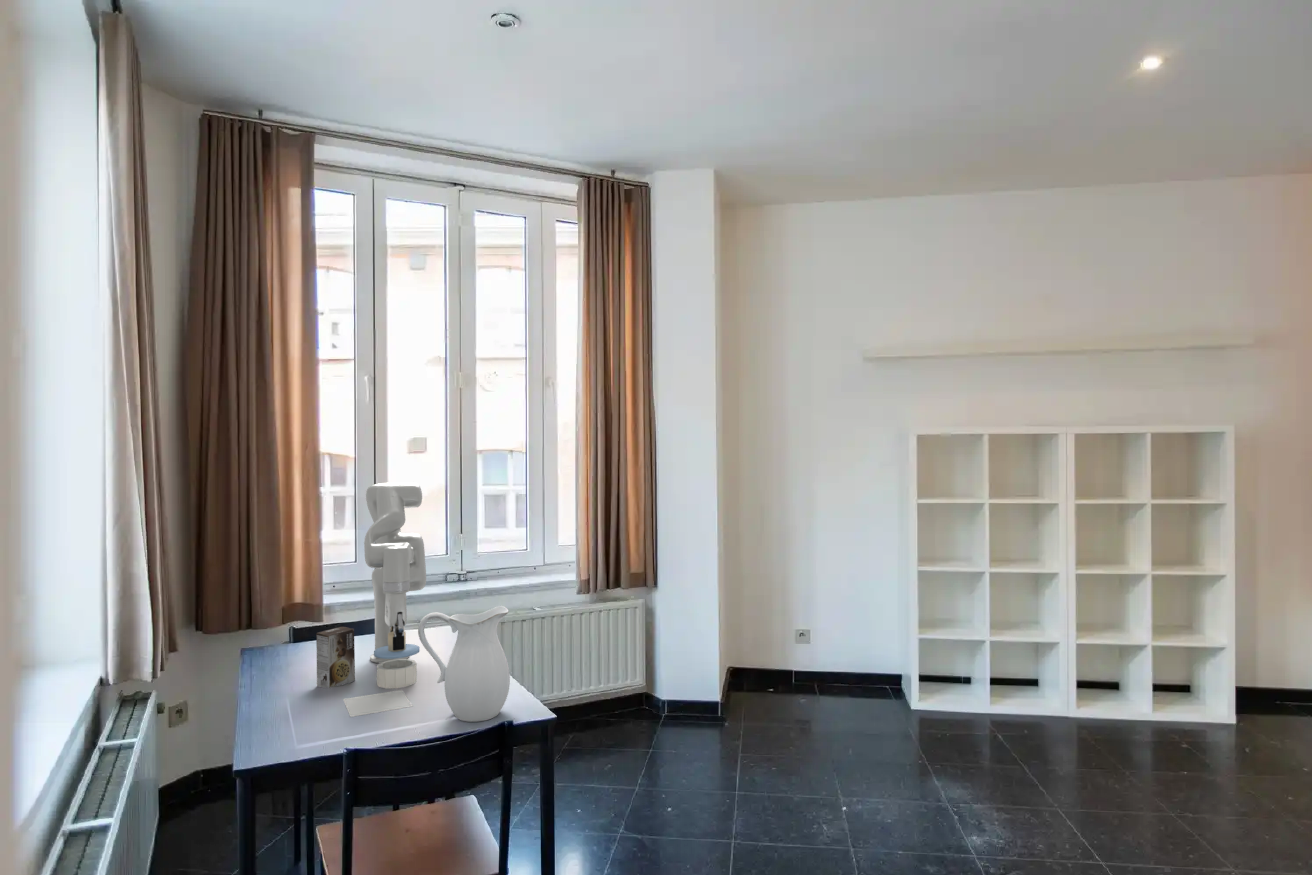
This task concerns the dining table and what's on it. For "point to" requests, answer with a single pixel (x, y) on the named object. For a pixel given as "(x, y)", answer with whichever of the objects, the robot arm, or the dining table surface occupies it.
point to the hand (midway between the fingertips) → (396, 646)
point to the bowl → (396, 673)
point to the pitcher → (473, 664)
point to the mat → (376, 703)
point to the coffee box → (335, 657)
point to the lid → (389, 653)
